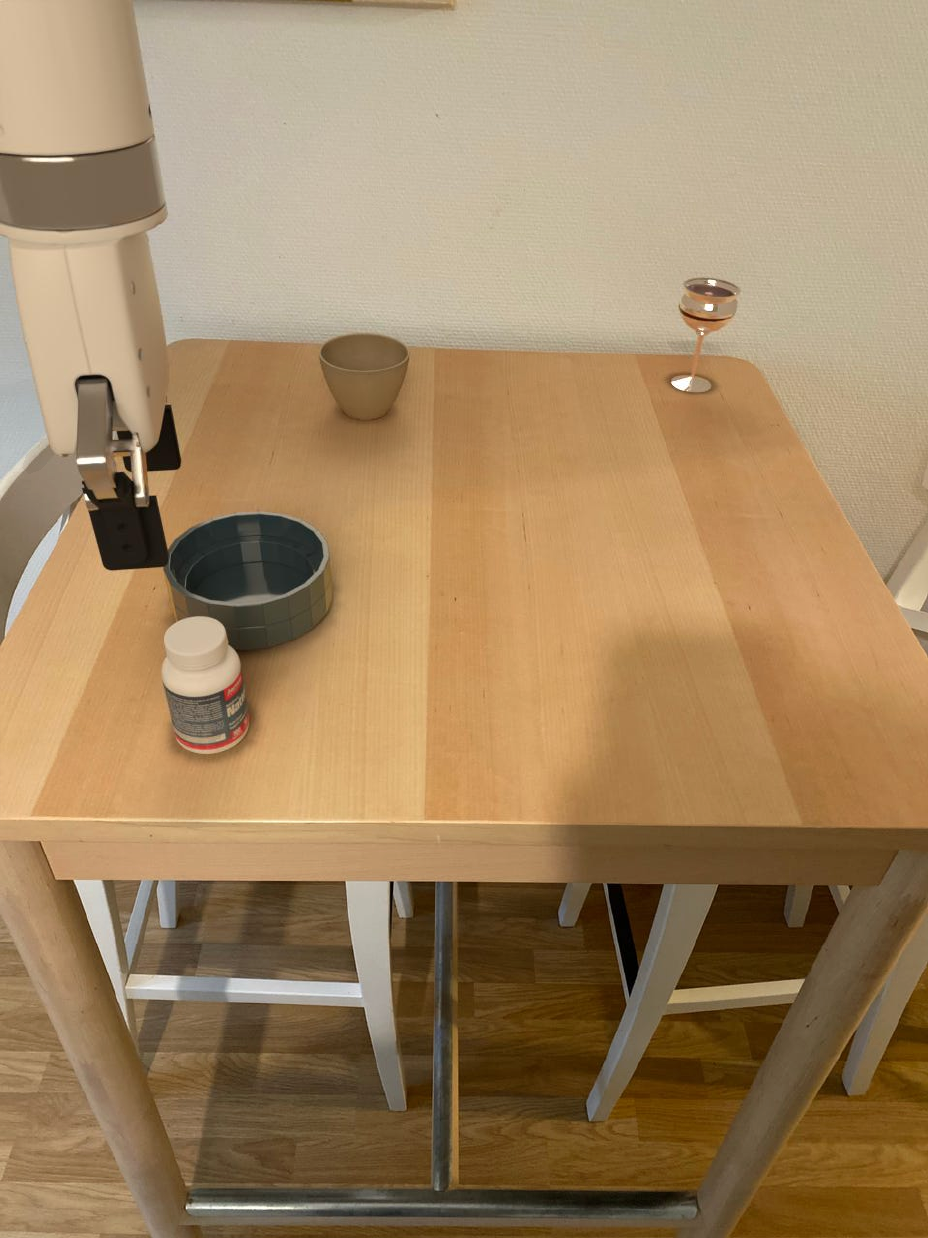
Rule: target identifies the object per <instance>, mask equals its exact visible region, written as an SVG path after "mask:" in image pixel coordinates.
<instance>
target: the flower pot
mask: <svg viewBox="0 0 928 1238" xmlns="http://www.w3.org/2000/svg"><path fill="white" fill-rule="evenodd" d="M317 353H318V359H319V364H320V368H321V371H322V375H323V377H324V380H325V383H326V385H327V387H328V390H329V391H330V394H331V395H332V396H333V398H334V400H335V402H336V403H337V404H338V405H337V406H339V407H340V409H341V410H342V412H343V413H344V414H345V415H347V416H348V417H350V418H351V419H355V420H361V421H372V420H377V419H380V418H382V417H384V416H385V415H386V414H387V413H388V412H389V410H390V409H391V407H392V406H393V405H394V403H395V401H396V399H397V397H398V396H399V393H400V391H401V389H402V387H403V384H404V382H405V380H406V376H407V371H408V367H409V362H410V354H411V351H410V348H409V347H408V346H407V344H405V343H404V342H403V341H402V340H399V339H397V338H395V337H392V336H389V335H386V334H381V333H373V332H355V333H346V334H341V335H337V336H334V337H331V338H329V339H328V340H326V341H324V342H323V343H322V344H321V345H320V346H319V348H318V352H317Z"/></svg>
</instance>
